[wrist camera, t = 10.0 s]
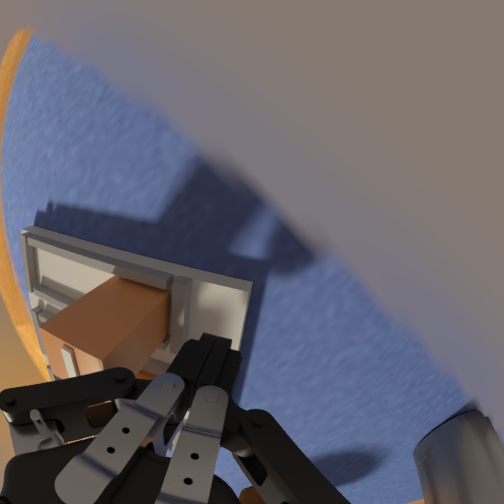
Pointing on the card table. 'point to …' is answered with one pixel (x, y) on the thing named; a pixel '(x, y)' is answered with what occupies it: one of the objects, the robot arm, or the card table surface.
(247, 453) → the robot arm
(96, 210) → the card table surface
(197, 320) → the switch bank
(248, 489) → the disposable coffee cup
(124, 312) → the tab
